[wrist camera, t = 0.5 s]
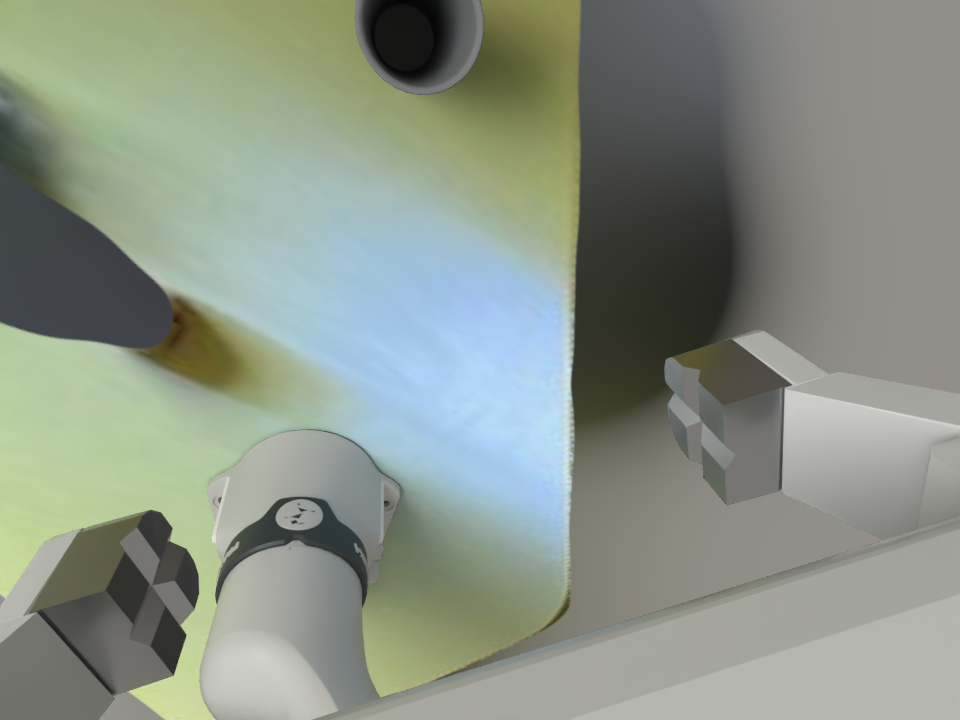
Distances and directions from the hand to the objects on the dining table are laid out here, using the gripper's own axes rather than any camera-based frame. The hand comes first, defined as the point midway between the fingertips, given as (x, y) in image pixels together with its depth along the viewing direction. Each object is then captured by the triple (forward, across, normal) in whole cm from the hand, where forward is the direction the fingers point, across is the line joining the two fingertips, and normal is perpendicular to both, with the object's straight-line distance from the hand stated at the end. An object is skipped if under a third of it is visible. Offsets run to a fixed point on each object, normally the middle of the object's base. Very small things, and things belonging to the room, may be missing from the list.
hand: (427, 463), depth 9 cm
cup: (+43, +4, +6) cm, 44 cm away
